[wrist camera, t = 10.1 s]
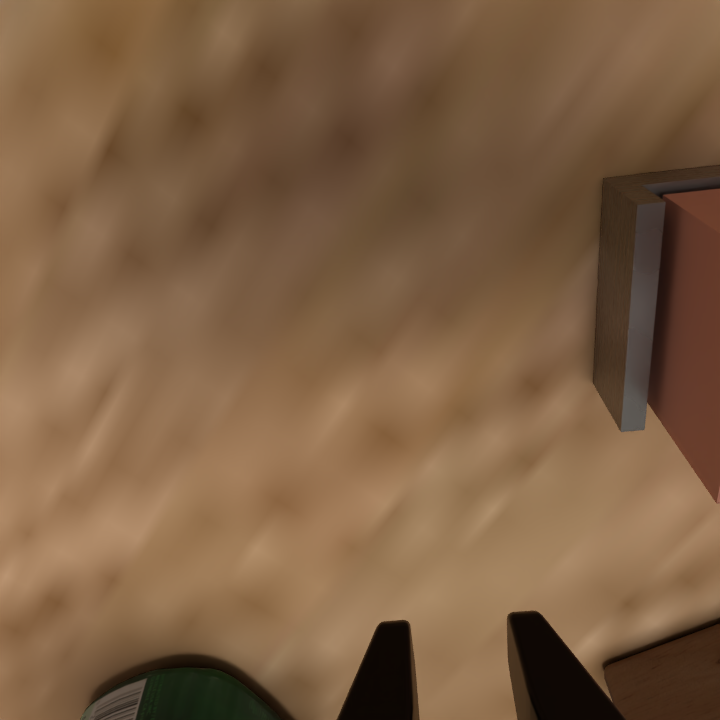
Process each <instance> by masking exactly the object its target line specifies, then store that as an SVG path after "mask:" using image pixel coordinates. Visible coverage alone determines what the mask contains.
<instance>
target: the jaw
mask: <svg viewBox="0 0 720 720" xmlns="http://www.w3.org/2000/svg"><path fill="white" fill-rule="evenodd" d="M662 200H664V201H665V202H666V204H665V215H664V226H663V236H662V247H661V258H660V268H659V279H658V290H657V301H656V311H655V322H654V333H653V343H652V354H651V365H650V376H649V386H648V397H647V402H648V404H649V405H650V407H651V408H652V410H653V411H654V413H655V414H656V416H657V417H658V418H659V420H660V421H661V423H662V424H663V426H664V427H665V429H666V430H667V432H668V433H669V435H670V436H671V437H672V439H673V440H674V442H675V443H676V445H677V446H678V448H679V449H680V451H681V452H682V454H683V455H684V456H685V458H686V459H687V461H688V462H689V464H690V465H691V467H692V468H693V470H694V471H695V473H696V474H697V475H698V477H699V478H700V480H701V481H702V483H703V484H704V486H705V487H706V489H707V490H708V492H709V493H710V494H711V496H712V497H713V499H714V500H715V502H716V503H720V189H711V190H702V191H693V192H684V193H675V194H666V195H663V198H662Z"/></svg>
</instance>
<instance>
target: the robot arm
mask: <svg viewBox="0 0 720 720" xmlns="http://www.w3.org/2000/svg"><path fill="white" fill-rule="evenodd" d="M507 644H508V663H509V671H510V677H511V683H512V689H513V695H514V701H515V707H516V713H517V719H518V720H626V719H625V717H624V716H623V715H622V714H621V712H620V711H619V710H618V709H617V707H616V706H615V705H614V704H613V702H612V701H611V700H610V699H609V697H608V696H607V695H606V694H605V693H604V691H603V690H602V689H601V688H600V686H599V685H598V684H597V683H596V681H595V680H594V679H593V678H592V676H591V675H590V674H589V673H588V671H587V670H586V669H585V668H584V666H583V665H582V664H581V663H580V662H579V660H578V659H577V658H576V657H575V655H574V654H573V653H572V652H571V650H570V649H569V648H568V647H567V645H566V644H565V643H564V642H563V640H562V639H561V638H560V637H559V635H558V634H557V633H556V632H555V631H554V629H553V628H552V627H551V626H550V624H549V623H548V622H547V621H546V619H545V618H544V617H543V616H542V615H541V614H540V613H539V612H537V611H522V612H512V613H510V614H508V616H507ZM337 720H419V707H418V695H417V682H416V670H415V660H414V652H413V644H412V636H411V628H410V624H409V622H408V621H406V620H397V621H384V622H381V623H380V624H379V625H378V626H377V628H376V630H375V632H374V635H373V637H372V639H371V642H370V644H369V646H368V649H367V651H366V653H365V655H364V658H363V660H362V662H361V665H360V667H359V669H358V672H357V674H356V676H355V679H354V681H353V683H352V686H351V688H350V690H349V693H348V695H347V697H346V700H345V702H344V704H343V706H342V709H341V711H340V713H339V716H338V718H337Z"/></svg>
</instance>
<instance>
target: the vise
mask: <svg viewBox="0 0 720 720" xmlns="http://www.w3.org/2000/svg"><path fill="white" fill-rule="evenodd" d="M711 189H720V165H716V166H707V167H699V168H690V169H681V170H672V171H663V172H654V173H646V174H637V175H628V176H619V177H610V178H603V193H602V213H601V234H600V254H599V275H598V295H597V315H596V336H595V356H594V377H593V384H594V386H595V388H596V390H597V391H598V393H599V395H600V397H601V398H602V400H603V402H604V403H605V405H606V407H607V409H608V410H609V412H610V414H611V416H612V417H613V419H614V421H615V423H616V424H617V426H618V428H619V430H620V431H621V432H625V431H637V430H644V429H645V419H646V408H647V397H648V386H649V376H650V365H651V354H652V343H653V333H654V322H655V311H656V301H657V290H658V279H659V268H660V258H661V247H662V236H663V226H664V215H665V204H666V202H665V201H664V200H662V198H663V195H666V194H675V193H684V192H693V191H702V190H711Z"/></svg>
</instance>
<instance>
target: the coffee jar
mask: <svg viewBox="0 0 720 720" xmlns="http://www.w3.org/2000/svg"><path fill="white" fill-rule="evenodd" d="M80 720H282V719H281V718H280V717H279V716H278V715H277V713H276V712H274V711H273V710H272V709H271V708H270V707H269V706H268V705H267V704H266V703H265V702H264V701H263V700H261V699H260V698H259V697H258V696H257V695H255V694H254V693H253V692H252V691H251V690H249V689H248V688H247V687H246V686H245V685H243V684H242V683H241V682H239V681H238V680H237V679H235V678H233V677H232V676H230V675H228V674H226V673H224V672H222V671H219V670H216V669H211V668H189V667H184V668H173V669H158V670H154V671H150V672H147V673H144V674H141V675H138V676H136V677H133V678H131V679H129V680H126V681H124V682H122V683H120V684H118V685H116V686H115V687H113V688H112V689H110V690H109V691H107V692H106V693H104V694H103V695H102V696H100V697H99V698H98V699H96V700H95V701H94V702H92V704H91V705H90V706H89V707H88V708H87V709H86V710H85V712H84V713H83V715H82V717H81V719H80Z"/></svg>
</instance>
